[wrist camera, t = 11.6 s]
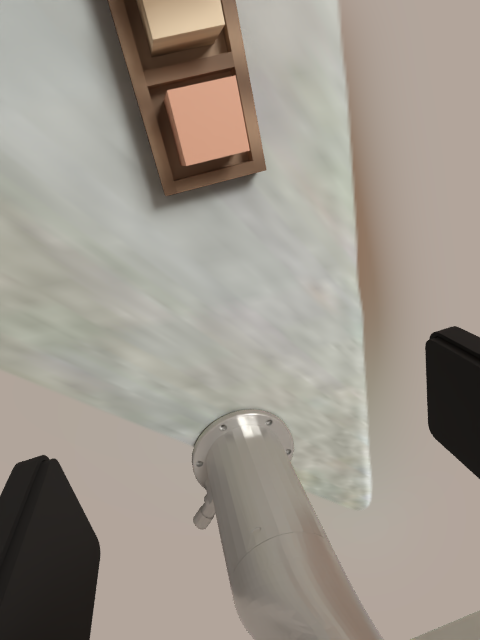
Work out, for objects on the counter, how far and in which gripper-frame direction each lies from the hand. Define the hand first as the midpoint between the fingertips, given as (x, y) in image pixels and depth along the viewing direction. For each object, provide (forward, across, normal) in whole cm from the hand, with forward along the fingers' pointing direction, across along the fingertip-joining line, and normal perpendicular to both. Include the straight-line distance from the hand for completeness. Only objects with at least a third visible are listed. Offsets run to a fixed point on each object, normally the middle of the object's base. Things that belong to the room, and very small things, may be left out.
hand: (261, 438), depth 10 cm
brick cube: (+29, -4, -9) cm, 30 cm away
